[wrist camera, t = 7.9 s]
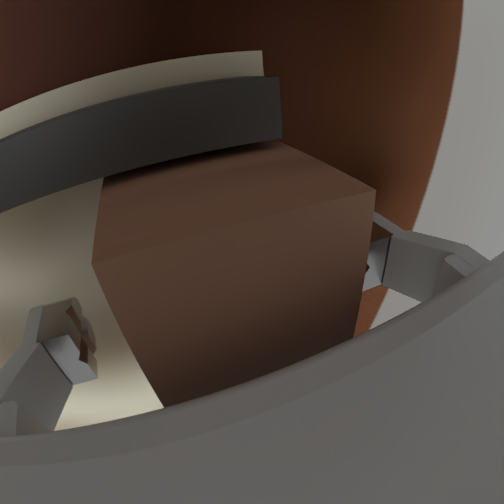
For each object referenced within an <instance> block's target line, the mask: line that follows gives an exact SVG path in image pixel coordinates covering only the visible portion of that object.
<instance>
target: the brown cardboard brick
mask: <svg viewBox="0 0 504 504" xmlns="http://www.w3.org/2000/svg"><path fill="white" fill-rule="evenodd" d="M375 198H376V190H375V189H373V188H372V187H370V186H368V185H366V184H364V183H363V182H361V181H359V180H357V179H355V178H353V177H351V176H349V175H348V174H346V173H344V172H342V171H340V170H338V169H336V168H334V167H332V166H330V165H328V164H326V163H324V162H322V161H320V160H318V159H316V158H314V157H312V156H310V155H308V154H306V153H304V152H301V151H299V150H297V149H295V148H293V147H291V146H289V145H286V144H284V143H282V142H280V141H278V140H268V141H262V142H256V143H250V144H244V145H239V146H233V147H228V148H222V149H217V150H212V151H207V152H202V153H198V154H193V155H188V156H184V157H179V158H175V159H171V160H167V161H162V162H158V163H154V164H150V165H146V166H142V167H139V168H135V169H131V170H127V171H124V172H120V173H117V174H113V175H110V176H106V177H104V178H103V183H102V189H101V195H100V201H99V207H98V213H97V220H96V227H95V235H94V244H93V253H92V263H91V265H92V267H93V270H94V272H95V274H96V277H97V279H98V281H99V284H100V286H101V288H102V291H103V293H104V295H105V297H106V300H107V302H108V304H109V306H110V308H111V311H112V313H113V315H114V317H115V319H116V321H117V323H118V325H119V327H120V329H121V331H122V333H123V335H124V337H125V339H126V341H127V343H128V345H129V347H130V349H131V351H132V353H133V355H134V356H135V358H136V360H137V362H138V364H139V366H140V367H141V369H142V371H143V373H144V375H145V376H146V378H147V380H148V382H149V383H150V385H151V387H152V388H153V390H154V392H155V394H156V395H157V397H158V399H159V400H160V402H161V403H162V405H163V407H164V408H165V407H168V406H172V405H176V404H179V403H183V402H186V401H189V400H193V399H196V398H199V397H203V396H206V395H209V394H212V393H215V392H218V391H221V390H224V389H227V388H230V387H233V386H236V385H239V384H242V383H245V382H247V381H250V380H253V379H256V378H259V377H261V376H264V375H267V374H269V373H272V372H274V371H277V370H280V369H282V368H285V367H287V366H290V365H292V364H295V363H297V362H300V361H302V360H304V359H307V358H309V357H311V356H314V355H316V354H318V353H321V352H323V351H325V350H328V349H330V348H332V347H334V346H337V345H339V344H341V343H343V342H345V341H347V340H350V339H352V338H353V335H354V330H355V326H356V321H357V316H358V311H359V306H360V301H361V295H362V290H363V284H364V279H365V273H366V267H367V260H368V254H369V247H370V240H371V232H372V225H373V216H374V208H375Z"/></svg>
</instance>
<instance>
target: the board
mask: <svg viewBox="0 0 504 504" xmlns="http://www.w3.org/2000/svg"><path fill="white" fill-rule="evenodd" d="M282 138H283V131H282V112H281V95H280V80H279V77H275V76H264V72H263V59H262V50H260V51H241V52H228V53H217V54H208V55H200V56H192V57H185V58H178V59H172V60H166V61H160V62H155V63H150V64H145V65H140V66H135V67H131V68H126V69H122V70H118V71H114V72H110V73H106V74H102V75H99V76H95V77H92V78H88V79H85V80H82V81H78V82H75V83H72V84H69V85H66V86H63V87H60V88H57V89H54V90H51V91H49V92H46V93H43V94H41V95H38V96H35V97H33V98H30V99H28V100H25V101H23V102H21V103H18V104H16V105H14V106H11V107H9V108H7V109H5V110H2V111H0V370H1V368H2V367H3V366H4V364H5V363H6V362H7V361H8V359H9V358H10V357H11V355H12V354H13V353H14V351H15V350H16V349H17V348H20V347H21V345H22V340H23V335H24V330H25V326H26V322H27V317H28V313H29V310H30V309H31V308H34V307H37V306H40V305H43V304H44V305H45V304H47V303H51V302H55V301H59V300H63V299H66V298H70V297H76V298H77V299H78V301H79V303H80V305H81V307H82V316H84V317H86V318H87V319H88V320H89V322H90V324H91V326H92V328H93V331H94V334H95V339H96V347H97V349H96V351H95V353H94V354H93V355H94V357H95V358H96V360H97V371H98V379H95V380H91V381H87V382H84V383H80V384H76V385H72V386H73V388H72V391H71V393H70V395H69V397H68V399H67V402H66V404H65V406H64V408H63V411H62V413H61V415H60V418H59V420H58V422H57V425H56V427H55V429H54V431H57V430H63V429H69V428H75V427H81V426H86V425H92V424H97V423H102V422H107V421H111V420H116V419H121V418H125V417H129V416H134V415H138V414H142V413H146V412H150V411H154V410H157V409H161V408H164V407H163V405H162V403H161V402H160V400H159V399H158V397H157V395H156V394H155V392H154V390H153V388H152V387H151V385H150V383H149V382H148V380H147V378H146V376H145V375H144V373H143V371H142V369H141V367H140V366H139V364H138V362H137V360H136V358H135V356H134V355H133V353H132V351H131V349H130V347H129V345H128V343H127V341H126V339H125V337H124V335H123V333H122V331H121V329H120V327H119V325H118V323H117V321H116V319H115V317H114V315H113V313H112V311H111V308H110V306H109V304H108V302H107V300H106V297H105V295H104V293H103V291H102V288H101V286H100V284H99V281H98V279H97V277H96V274H95V272H94V270H93V267H92V265H91V263H92V253H93V244H94V235H95V227H96V220H97V213H98V207H99V201H100V195H101V189H102V183H103V178H104V177H106V176H110V175H113V174H117V173H120V172H124V171H127V170H131V169H135V168H139V167H142V166H146V165H150V164H154V163H158V162H162V161H167V160H171V159H175V158H179V157H184V156H188V155H193V154H198V153H202V152H207V151H212V150H217V149H222V148H228V147H233V146H239V145H244V144H250V143H256V142H262V141H268V140H275V139H282Z"/></svg>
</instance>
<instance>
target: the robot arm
mask: <svg viewBox="0 0 504 504" xmlns="http://www.w3.org/2000/svg"><path fill="white" fill-rule="evenodd" d="M380 284H382V285H383V286H386V287H388V288H390V289H393V290H395V291H397V292H399V293H402V294H404V295H406V296H409V297H411V298H413V299H416V300H418V301H420V302H422V303H420V304H418V305H417V306H415V307H413V308H411V309H409V310H407V311H406V312H404V313H402V314H400V315H398V316H396V317H394V318H392V319H390V320H388V321H387V322H384V323H383V324H381V325H379V326H377V327H375V328H373V329H370V330H368V331H366V332H364V333H362V334H360V335H358V336H356V337H354V338H352V339H350V340H347V341H345V342H343V343H341V344H339V345H337V346H334V347H332V348H330V349H328V350H325V351H323V352H321V353H318V354H316V355H314V356H311V357H309V358H307V359H304V360H302V361H300V362H297V363H295V364H292V365H290V366H287V367H285V368H282V369H280V370H277V371H274V372H272V373H269V374H267V375H264V376H261V377H259V378H256V379H253V380H250V381H247V382H245V383H242V384H239V385H236V386H233V387H230V388H227V389H224V390H221V391H218V392H215V393H212V394H209V395H206V396H203V397H199V398H196V399H193V400H189V401H186V402H183V403H179V404H176V405H172V406H168V407H165V408H161V409H157V410H154V411H150V412H146V413H142V414H138V415H134V416H129V417H125V418H121V419H116V420H111V421H107V422H102V423H97V424H92V425H86V426H81V427H75V428H69V429H63V430H57V431H54V429H55V427H56V425H57V422H58V420H59V418H60V415H61V413H62V411H63V408H64V406H65V404H66V402H67V399H68V397H69V395H70V393H71V391H72V388H73V386H72V385H76V384H80V383H84V382H87V381H91V380H95V379H98V371H97V360H96V358H95V357H94V355H93V354H94V353H95V351H96V349H97V347H96V339H95V334H94V331H93V328H92V326H91V324H90V322H89V320H88V319H87V318H86V317H84V316H82V307H81V305H80V303H79V301H78V299H77V298H76V297H70V298H66V299H63V300H59V301H55V302H51V303H47V304H45V305H44V304H43V305H40V306H37V307H34V308H31V309H30V310H29V313H28V317H27V322H26V326H25V330H24V335H23V340H22V345H21V347H20V348H17V349H16V350H15V351H14V353H13V354H12V355H11V357H10V358H9V359H8V361H7V362H6V363H5V364H4V366H3V367H2V368H1V370H0V504H504V252H502V253H501V254H499V255H498V256H497V257H495V258H493V259H492V260H490V261H489V260H488V259H486V258H485V257H483V256H482V255H481V254H479V253H478V252H477V251H475V250H474V249H472V248H471V247H469V246H468V245H465V244H461V243H457V242H453V241H449V240H446V239H441V238H438V237H434V236H429V235H426V234H421V233H417V232H413V231H409V230H408V231H404V230H403V229H401V228H400V227H398V226H397V225H395V224H394V223H392V222H391V221H389V220H387V219H386V218H384V217H383V216H381V215H380V214H378V213H377V212H374V216H373V225H372V232H371V240H370V247H369V254H368V260H367V267H366V273H365V279H364V284H363V290H362V291H365V290H367V289H370V288H373V287H375V286H378V285H380Z"/></svg>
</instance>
